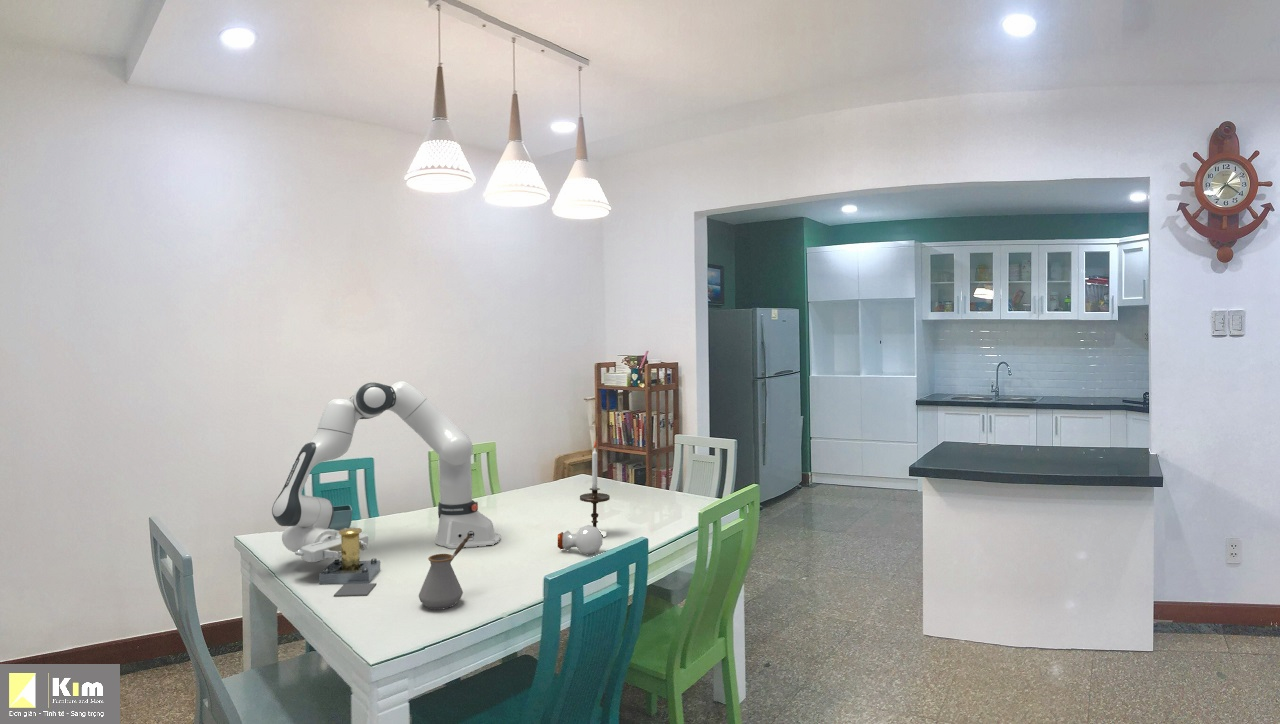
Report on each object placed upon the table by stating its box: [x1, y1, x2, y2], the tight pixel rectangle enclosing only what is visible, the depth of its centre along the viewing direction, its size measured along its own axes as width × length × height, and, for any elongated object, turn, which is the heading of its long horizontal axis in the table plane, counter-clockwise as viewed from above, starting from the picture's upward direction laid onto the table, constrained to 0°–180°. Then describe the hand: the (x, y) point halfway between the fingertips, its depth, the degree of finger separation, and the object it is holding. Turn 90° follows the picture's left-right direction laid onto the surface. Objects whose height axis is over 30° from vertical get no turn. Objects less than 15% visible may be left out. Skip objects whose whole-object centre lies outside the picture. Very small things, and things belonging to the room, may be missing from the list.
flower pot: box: [329, 504, 353, 529], centre depth 262 cm, size 9×9×9 cm
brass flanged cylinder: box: [339, 527, 363, 570], centre depth 213 cm, size 6×6×14 cm
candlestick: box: [579, 439, 611, 528], centre depth 259 cm, size 11×11×35 cm
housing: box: [318, 558, 381, 585], centre depth 213 cm, size 14×12×4 cm
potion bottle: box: [557, 524, 603, 556], centre depth 238 cm, size 9×10×15 cm
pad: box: [333, 582, 377, 598], centre depth 202 cm, size 9×9×1 cm
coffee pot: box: [418, 535, 474, 610], centre depth 196 cm, size 21×12×15 cm, turn 163°
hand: (352, 550), depth 213 cm, fingers open, 8 cm apart
